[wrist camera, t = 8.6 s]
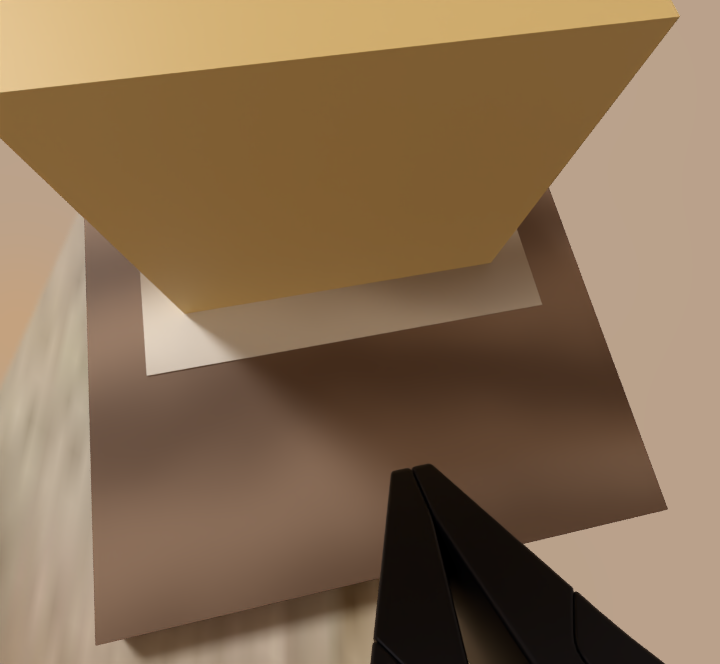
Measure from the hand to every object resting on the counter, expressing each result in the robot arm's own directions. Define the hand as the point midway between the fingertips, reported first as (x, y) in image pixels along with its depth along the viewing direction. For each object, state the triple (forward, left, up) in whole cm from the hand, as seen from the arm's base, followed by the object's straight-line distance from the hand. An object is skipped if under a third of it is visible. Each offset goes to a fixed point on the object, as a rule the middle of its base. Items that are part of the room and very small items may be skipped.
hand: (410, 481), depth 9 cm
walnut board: (+8, -5, -7) cm, 12 cm away
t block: (+11, -7, -6) cm, 14 cm away
